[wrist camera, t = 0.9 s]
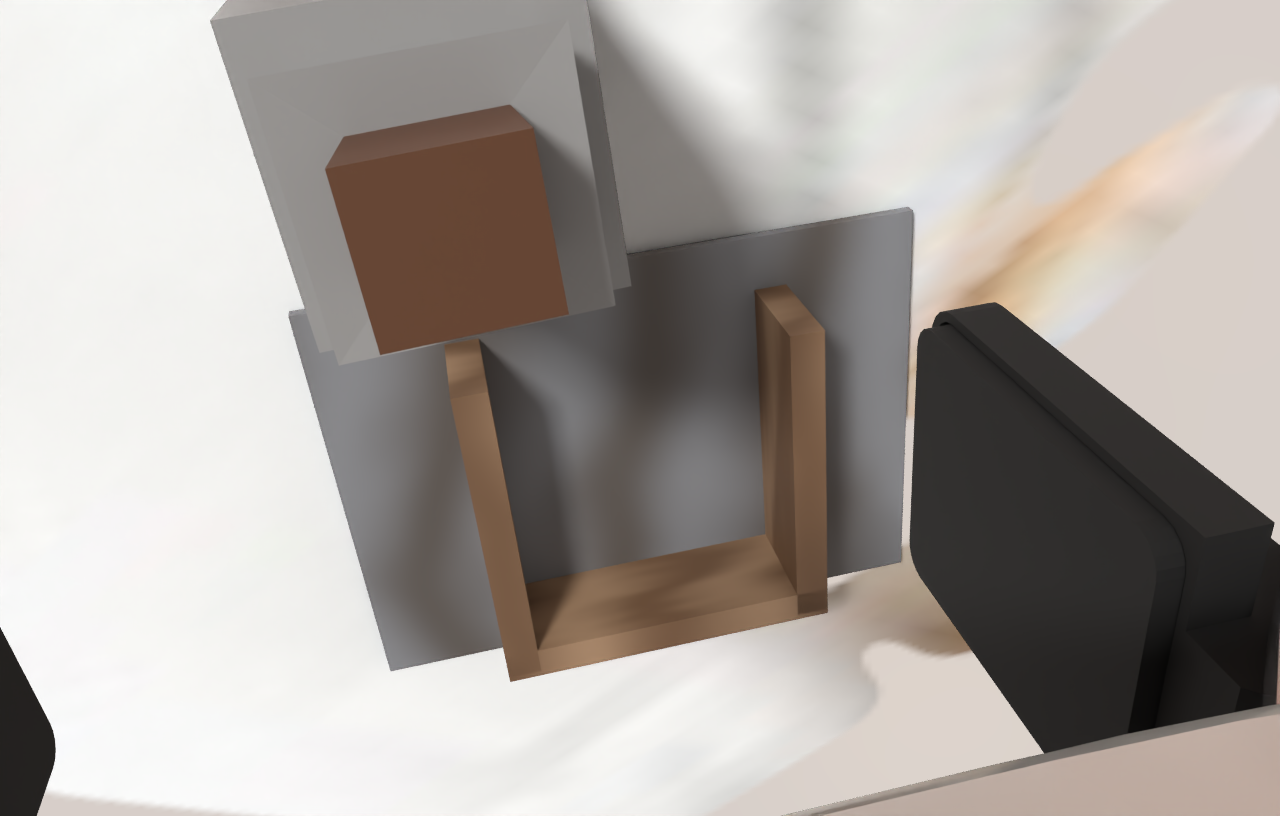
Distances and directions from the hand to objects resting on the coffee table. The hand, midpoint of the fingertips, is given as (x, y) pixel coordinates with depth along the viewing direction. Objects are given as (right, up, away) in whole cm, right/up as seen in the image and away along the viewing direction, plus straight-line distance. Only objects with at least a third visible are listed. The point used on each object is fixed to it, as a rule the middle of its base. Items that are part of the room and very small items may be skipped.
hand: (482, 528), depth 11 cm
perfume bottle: (-5, +12, +22) cm, 26 cm away
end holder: (+1, 0, +31) cm, 31 cm away
